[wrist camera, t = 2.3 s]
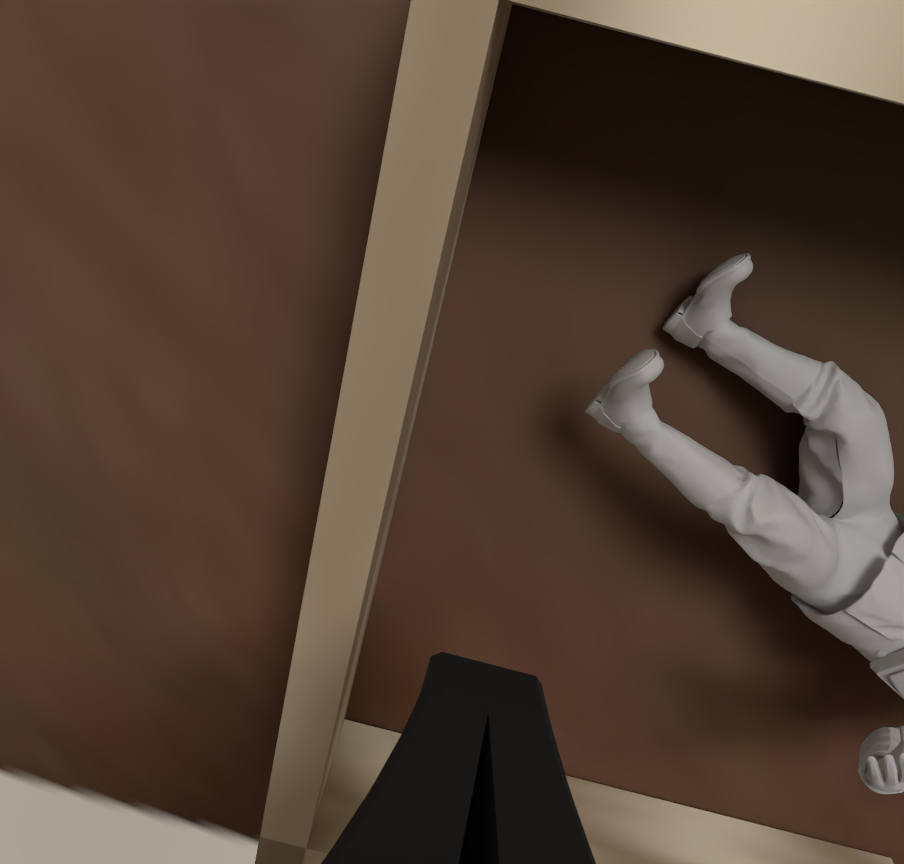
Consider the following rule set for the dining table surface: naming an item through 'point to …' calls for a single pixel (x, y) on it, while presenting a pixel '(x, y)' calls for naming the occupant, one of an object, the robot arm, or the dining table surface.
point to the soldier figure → (777, 508)
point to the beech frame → (403, 372)
